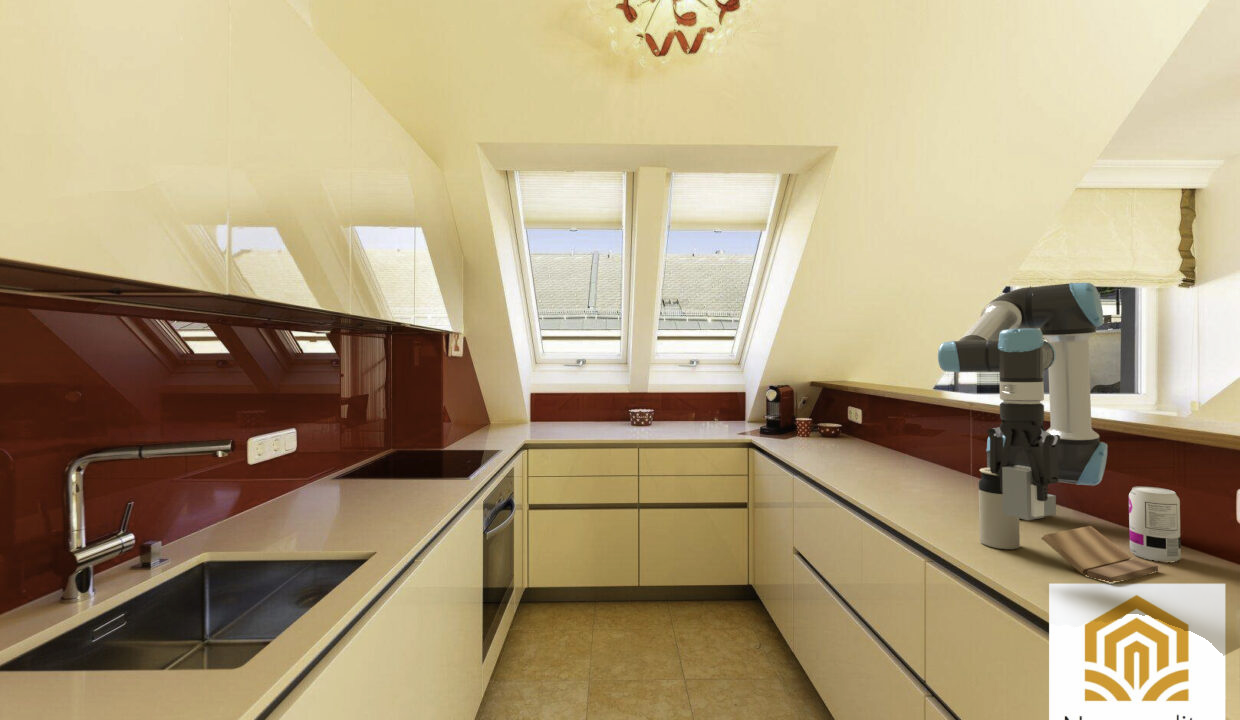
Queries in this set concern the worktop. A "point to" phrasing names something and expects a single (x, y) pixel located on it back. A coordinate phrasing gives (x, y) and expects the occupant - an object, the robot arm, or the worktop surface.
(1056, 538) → the plank
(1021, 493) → the block
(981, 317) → the robot arm
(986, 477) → the travel mug
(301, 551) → the worktop surface
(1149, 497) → the supplement can
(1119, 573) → the laid row
